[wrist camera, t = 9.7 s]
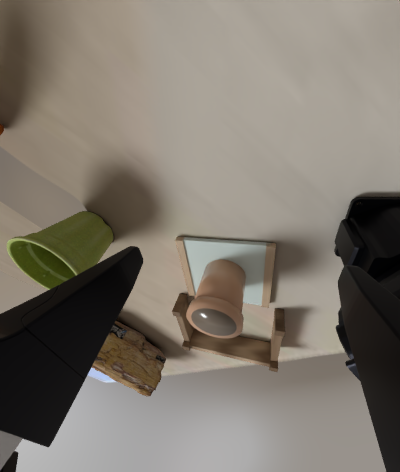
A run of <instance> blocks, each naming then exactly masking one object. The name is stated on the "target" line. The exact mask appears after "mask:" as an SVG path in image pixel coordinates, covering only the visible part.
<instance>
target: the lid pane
mask: <svg viewBox="0 0 400 472" xmlns="http://www.w3.org/2000/svg"><path fill="white" fill-rule="evenodd" d="M175 242H176V246H177V250H178V254H179V258H180V262H181V265H182V269H183V273H184V277H185V281H186V285H187V289H188V293H189V296H195V295H196V293H197V290H198V287H199V284H200V281H201V279H202V276H203V273H204V270H205V267H206V265H207V264H208V263H210V262H211V261H214V260H220V259H222V260H229V261H232V262H234V263H236V264H238V265H239V266H240V267H241V268H242V269H243V270H244V272H245V274H246V283H245V290H244V298H243V303H248V304H254V305H261V307H266V308H269V302H270V294H271V285H272V277H273V268H274V260H275V251H276V243H266V242H250V241H235V240H220V239H204V238H189V237H177V238H176V240H175Z"/></svg>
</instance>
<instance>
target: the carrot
mask: <svg viewBox="0 0 400 472" xmlns="http://www.w3.org/2000/svg"><path fill="white" fill-rule="evenodd" d="M3 131H4V126H3V125H1V124H0V135H1V134H2V133H3Z"/></svg>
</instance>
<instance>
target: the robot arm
mask: <svg viewBox="0 0 400 472" xmlns="http://www.w3.org/2000/svg"><path fill="white" fill-rule="evenodd" d="M357 202H361V203H360V204H359V205H355V204H356V203H357ZM335 244H336V247H335V251H334V252H335V254H336V255H337V256H339V257H341V259H342V262H343V264H344V267H343V270H342V272H341V275H340V277H339V280H338V289H339V295H340V302H341V308H340V310H339V312H338V316H339V325H337V326H336V331H337V334H338V337H339V339H340V342H341V344H342V346H343V348H344V350H345V352H346V353H347V355H348V357H349V358H350V360H348V361H346V366H347V367H348V368H349V369H350V370H351V371H352V372H353V374H354V375H355V376H356V377H357V378H358V379H359V380H360V381H361V385H362V388H363V392H364V395H365V398H366V402H367V406H368V409H369V413H370V416H371V420H372V423H373V426H374V430H375V433H376V437H377V440H378V444H379V447H380V451H381V454H382V457H383V461H384V465H385V468H386V472H400V197H356V198H354V199H353V200H352V201H351V203H350V206H349V209H348V212H347V215H346V218H345V219H343V220H342V221H341V223H340V226H339V229H338V232H337V236H336V239H335ZM142 264H143V257H142V255H141V252H140V250H139V248H138V247H135V246H130V247H128V248H126V249H124V250H122V251H120V252H118V253H117V254H115V255H113V256H111V257H109V258H107V259H105V260H104V261H102V262H100V263H98V264H96V265H94V266H93V267H91V268H89V269H87V270H85V271H83V272H81V273H80V274H78V275H76V276H74V277H72V278H70V279H68V280H67V281H65V282H63V283H61V284H60V285H57V286H55V287H54V288H52V289H50V290H48V291H46V292H44V293H42V294H40V295H39V296H37V297H35V298H33V299H30V300H28V301H26V302H24V303H23V304H20V305H18V306H16V307H14V308H12V309H10V310H8V311H6V312H4V313H1V314H0V472H16V465H17V459H18V452H16V451H14V450H15V449H16V447H17V446H18V445H19V443H20V442H21V440H22V439H26V440H29V441H32V442H34V443H37V444H40V445H43V446H46V447H49V446H50V445H51V443H52V441H53V440H54V438H55V436H56V434H57V432H58V430H59V428H60V426H61V424H62V423H63V421H64V419H65V417H66V415H67V413H68V411H69V409H70V407H71V405H72V403H73V401H74V400H75V398H76V396H77V394H78V392H79V390H80V388H81V386H82V384H83V382H84V381H85V378H86V377H87V375H88V373H89V371H90V369H91V367H92V365H93V363H94V361H95V359H96V358H97V356H98V354H99V352H100V350H101V348H102V346H103V344H104V342H105V340H106V338H107V337H108V335H109V333H110V331H111V329H112V327H113V325H114V323H115V321H116V319H117V318H118V316H119V314H120V312H121V310H122V308H123V306H124V304H125V302H126V300H127V298H128V297H129V295H130V293H131V291H132V289H133V286H134V284H135V281H136V279H137V276H138V274H139V272H140V269H141V267H142Z"/></svg>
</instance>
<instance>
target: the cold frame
mask: <svg viewBox="0 0 400 472" xmlns="http://www.w3.org/2000/svg"><path fill="white" fill-rule="evenodd" d="M188 307H189V304H188V301H187V295H186V294H179V296H178V299H177V301H176V303H175V306H174V308H173V310H172V312H173V315H174V316H176V317H177V320H178V323H179V326H180V329H181V332H182V335H183V338H184V342H183V345H182V347H183V349H184V350H188V351H190V348H192V349H196V350H201V351H205V352H209V353H213V354H217V355H222V356H226V357H230V358H234V359H238V360H243V361H247V362H251V363H255V364H259V365H264V366H268V367H269V370H271V371H275V372H277V371H278V356H279V351H280V346H281V341H282V337H284V335H285V322H284V310H282V309H276V308H275V311H274V323H273V330H272V336H271V342H270V343H269V342H264V341H260V340H255V339H250V338H245V337H240V336H236V337H233V338H217V337H212V336H209V335H207V334H204V333H202V332H200V331H199V330H197V329H196V328H194V327H193V326H192V325H191V324H190V323H189V321H188V320H187V317H186V313H187V310H188Z"/></svg>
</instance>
